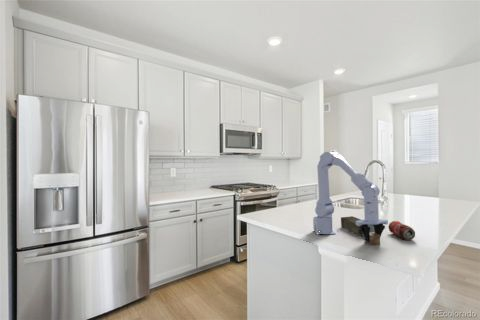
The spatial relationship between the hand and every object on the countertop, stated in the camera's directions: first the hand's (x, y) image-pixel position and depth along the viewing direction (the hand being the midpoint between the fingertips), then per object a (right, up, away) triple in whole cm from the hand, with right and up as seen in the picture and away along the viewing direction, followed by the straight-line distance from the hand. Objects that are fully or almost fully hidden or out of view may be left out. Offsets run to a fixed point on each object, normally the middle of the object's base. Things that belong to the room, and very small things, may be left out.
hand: (372, 240), depth 109 cm
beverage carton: (+2, -2, +18) cm, 19 cm away
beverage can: (+19, -1, +7) cm, 20 cm away
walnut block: (0, -1, 0) cm, 1 cm away
